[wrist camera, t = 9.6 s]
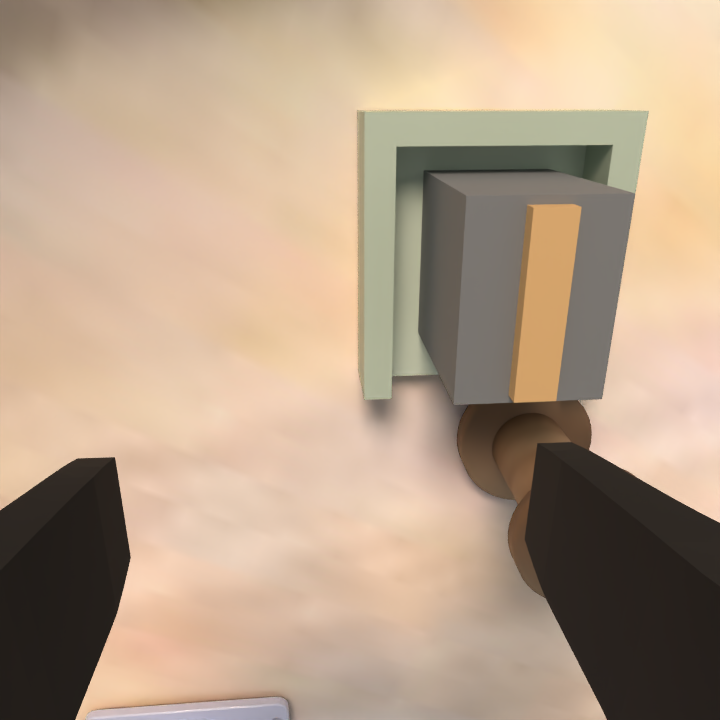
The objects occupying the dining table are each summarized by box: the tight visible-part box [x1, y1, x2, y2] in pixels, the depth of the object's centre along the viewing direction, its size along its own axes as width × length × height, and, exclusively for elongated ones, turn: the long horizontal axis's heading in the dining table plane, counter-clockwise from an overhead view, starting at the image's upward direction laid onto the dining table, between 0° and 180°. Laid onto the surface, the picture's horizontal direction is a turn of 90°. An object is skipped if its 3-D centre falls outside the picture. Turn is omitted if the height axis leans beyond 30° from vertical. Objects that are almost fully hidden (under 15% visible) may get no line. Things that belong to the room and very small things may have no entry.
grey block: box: [418, 169, 635, 405], centre depth 16 cm, size 5×4×5 cm
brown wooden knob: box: [457, 400, 634, 598], centre depth 19 cm, size 4×4×6 cm
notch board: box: [357, 110, 649, 400], centre depth 18 cm, size 8×7×2 cm
